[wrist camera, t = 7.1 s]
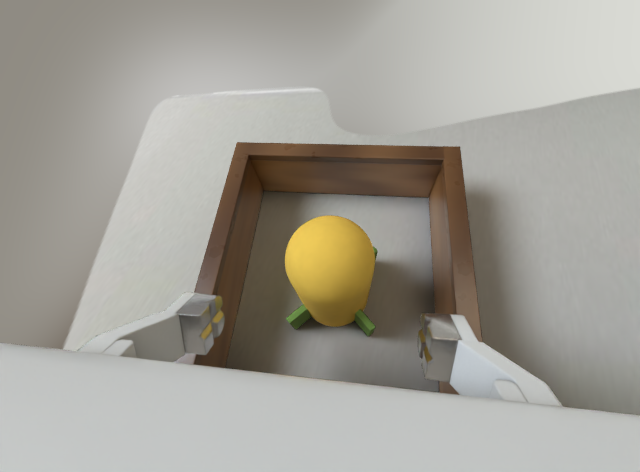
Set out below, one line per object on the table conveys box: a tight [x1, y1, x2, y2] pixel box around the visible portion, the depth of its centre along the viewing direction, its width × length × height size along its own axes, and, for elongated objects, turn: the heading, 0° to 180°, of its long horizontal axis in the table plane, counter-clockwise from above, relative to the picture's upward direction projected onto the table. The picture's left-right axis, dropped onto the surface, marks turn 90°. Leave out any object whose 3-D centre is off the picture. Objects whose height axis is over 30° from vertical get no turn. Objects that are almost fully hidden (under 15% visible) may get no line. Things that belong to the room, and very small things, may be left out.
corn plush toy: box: [285, 216, 377, 336], centre depth 17 cm, size 5×5×8 cm
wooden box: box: [175, 142, 483, 395], centre depth 19 cm, size 15×18×5 cm
